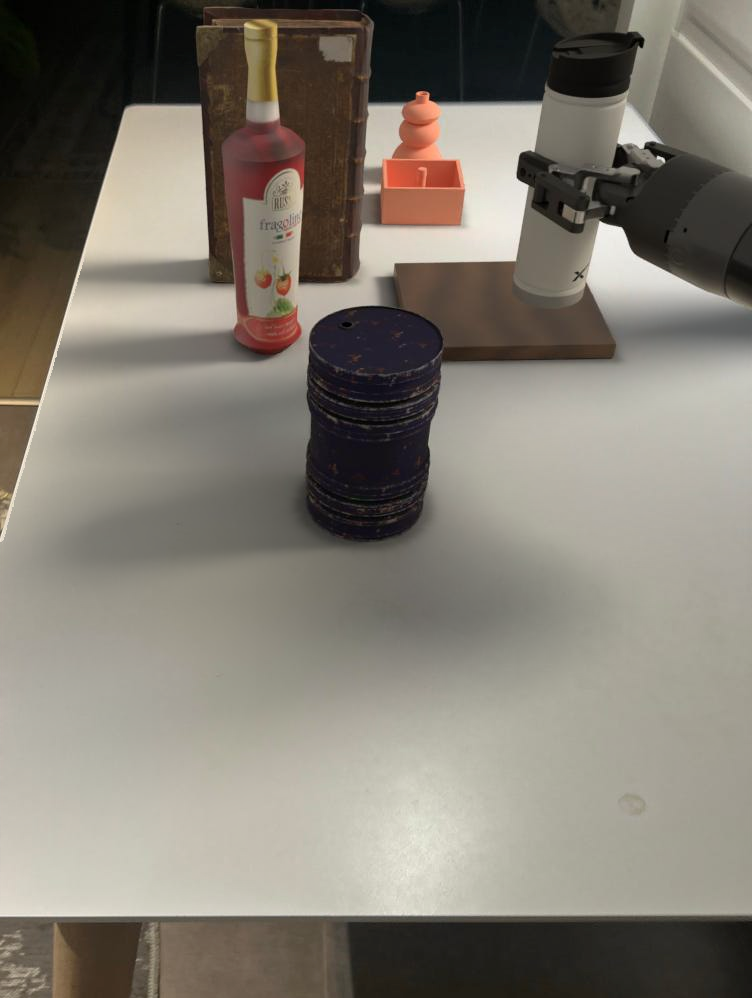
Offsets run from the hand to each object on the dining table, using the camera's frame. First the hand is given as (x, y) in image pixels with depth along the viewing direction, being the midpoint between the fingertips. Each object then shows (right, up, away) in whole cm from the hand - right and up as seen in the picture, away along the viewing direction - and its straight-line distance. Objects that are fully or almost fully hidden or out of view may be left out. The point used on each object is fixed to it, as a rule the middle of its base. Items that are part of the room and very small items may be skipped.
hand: (553, 155), depth 78 cm
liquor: (-24, -10, +18) cm, 31 cm away
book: (-22, +1, +29) cm, 36 cm away
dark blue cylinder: (-15, -29, +1) cm, 33 cm away
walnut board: (0, -6, +21) cm, 22 cm away
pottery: (-5, +17, +43) cm, 46 cm away
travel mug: (+2, -9, +7) cm, 11 cm away
